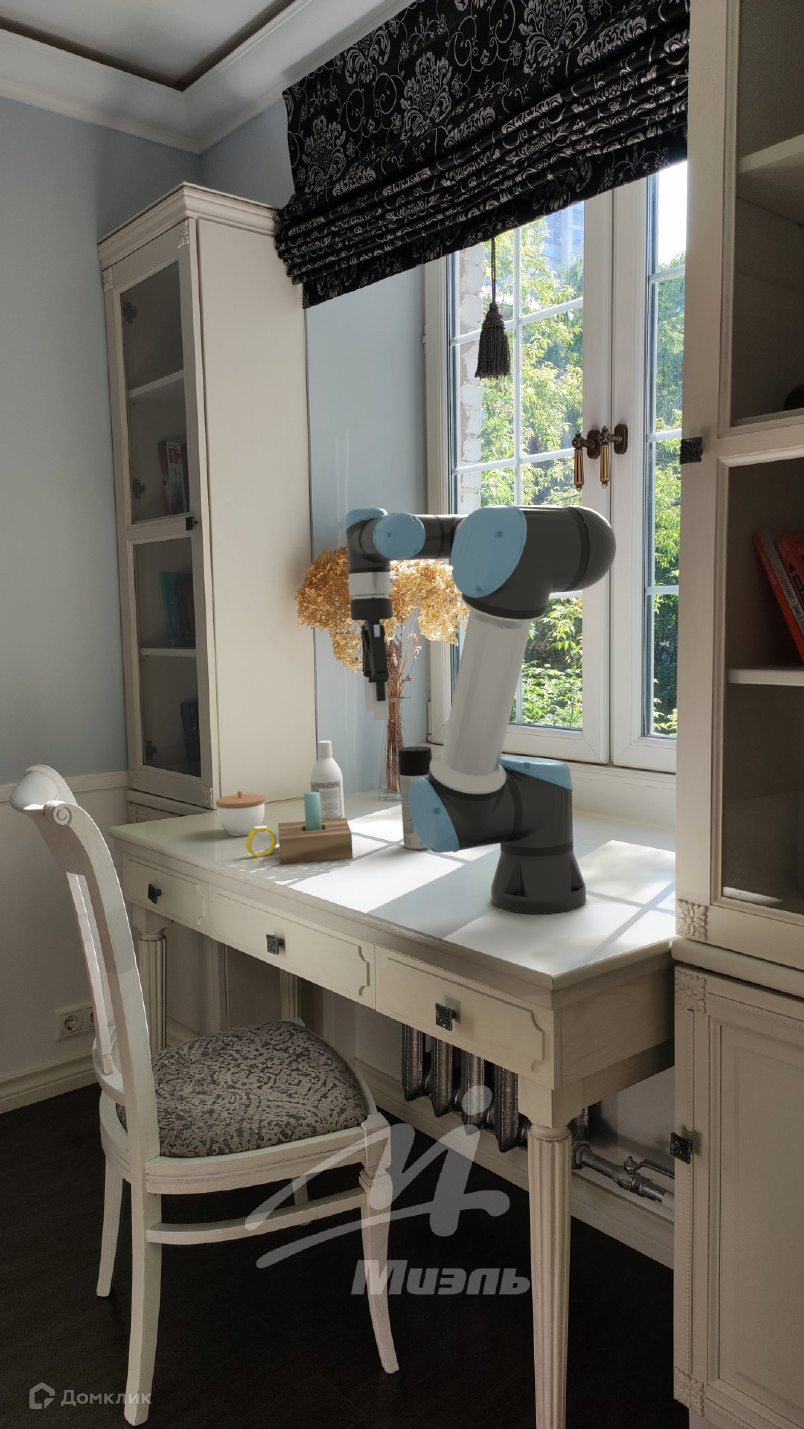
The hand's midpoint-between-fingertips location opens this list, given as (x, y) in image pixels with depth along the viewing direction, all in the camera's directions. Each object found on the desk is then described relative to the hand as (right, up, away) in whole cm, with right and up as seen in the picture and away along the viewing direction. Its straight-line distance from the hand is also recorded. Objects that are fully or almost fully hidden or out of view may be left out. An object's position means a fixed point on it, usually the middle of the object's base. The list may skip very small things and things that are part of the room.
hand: (377, 715), depth 175 cm
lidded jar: (-31, -26, +40) cm, 57 cm away
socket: (-13, -27, +19) cm, 36 cm away
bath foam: (-11, -26, +37) cm, 46 cm away
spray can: (+8, -27, +20) cm, 34 cm away
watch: (-23, -28, +19) cm, 41 cm away
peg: (-13, -27, +19) cm, 36 cm away
